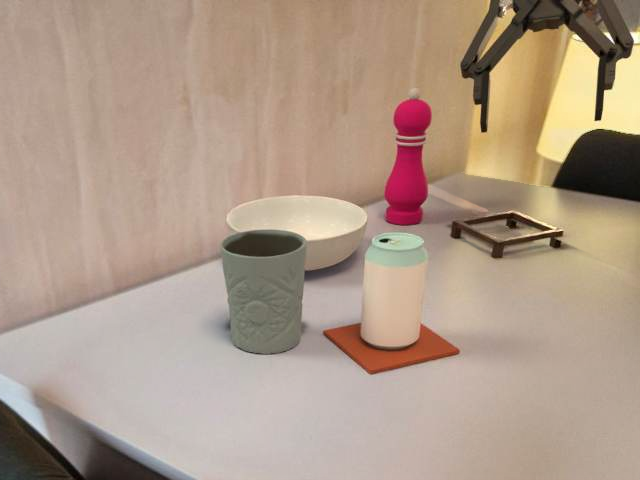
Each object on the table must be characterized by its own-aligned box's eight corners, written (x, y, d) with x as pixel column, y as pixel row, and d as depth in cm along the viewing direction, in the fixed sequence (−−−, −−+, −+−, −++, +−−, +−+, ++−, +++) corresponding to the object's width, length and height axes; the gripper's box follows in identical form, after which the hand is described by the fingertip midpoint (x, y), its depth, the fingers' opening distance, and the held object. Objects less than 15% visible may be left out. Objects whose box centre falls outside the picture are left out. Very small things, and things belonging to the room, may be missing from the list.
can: (362, 352, 90) (368, 251, 83) (358, 327, 96) (363, 230, 88) (422, 352, 90) (434, 250, 82) (414, 326, 95) (425, 229, 88)
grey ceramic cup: (253, 364, 90) (250, 263, 82) (210, 335, 96) (203, 239, 89) (322, 341, 94) (325, 243, 86) (276, 315, 101) (274, 222, 93)
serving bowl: (215, 284, 110) (212, 236, 106) (242, 237, 126) (241, 193, 122) (360, 290, 107) (362, 240, 102) (369, 240, 123) (372, 196, 119)
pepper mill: (403, 229, 127) (415, 94, 115) (373, 219, 132) (382, 88, 119) (434, 220, 130) (448, 87, 118) (403, 210, 135) (414, 82, 123)
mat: (459, 353, 90) (460, 349, 90) (370, 374, 87) (370, 370, 86) (405, 316, 99) (406, 312, 99) (323, 334, 96) (323, 330, 95)
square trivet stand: (560, 246, 118) (563, 230, 116) (495, 259, 114) (498, 242, 113) (511, 225, 127) (514, 209, 125) (450, 236, 123) (452, 220, 122)
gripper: (446, -52, 96) (435, 118, 97) (667, -92, 88) (654, 94, 88) (451, -13, 103) (442, 145, 104) (657, -48, 95) (645, 125, 95)
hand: (539, 122), depth 96 cm, fingers open, 13 cm apart
